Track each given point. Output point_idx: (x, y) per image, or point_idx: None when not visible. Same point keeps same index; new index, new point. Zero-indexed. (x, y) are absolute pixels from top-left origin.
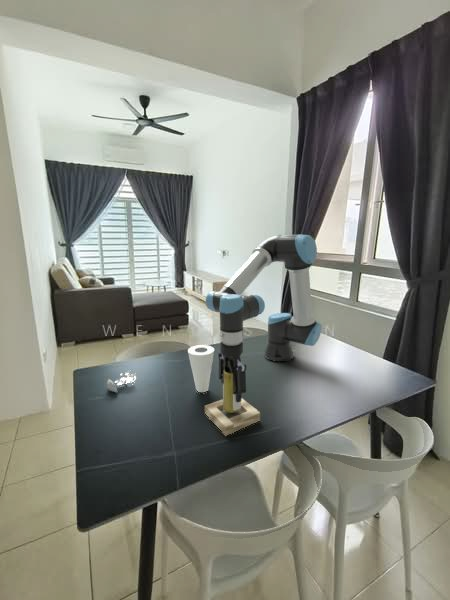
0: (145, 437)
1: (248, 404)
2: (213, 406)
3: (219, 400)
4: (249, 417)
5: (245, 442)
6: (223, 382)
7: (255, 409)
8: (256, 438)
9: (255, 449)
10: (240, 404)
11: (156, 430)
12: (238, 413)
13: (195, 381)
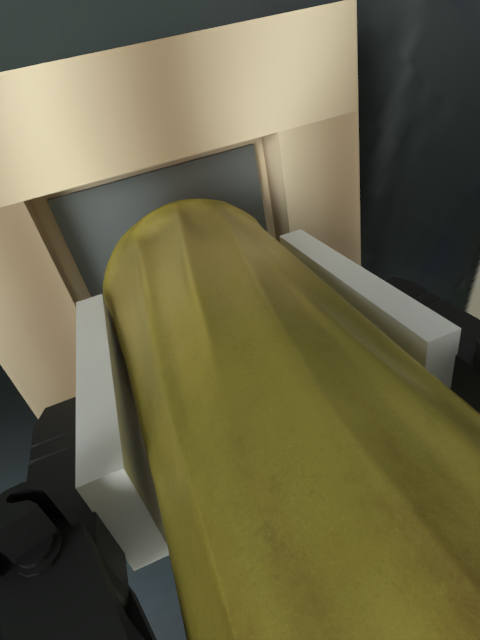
0: None
1: (167, 59)
2: None
3: (3, 364)
4: (355, 158)
5: (410, 233)
6: (133, 595)
7: (290, 23)
8: (422, 154)
9: (473, 199)
10: (323, 249)
11: (158, 586)
12: None
13: None
